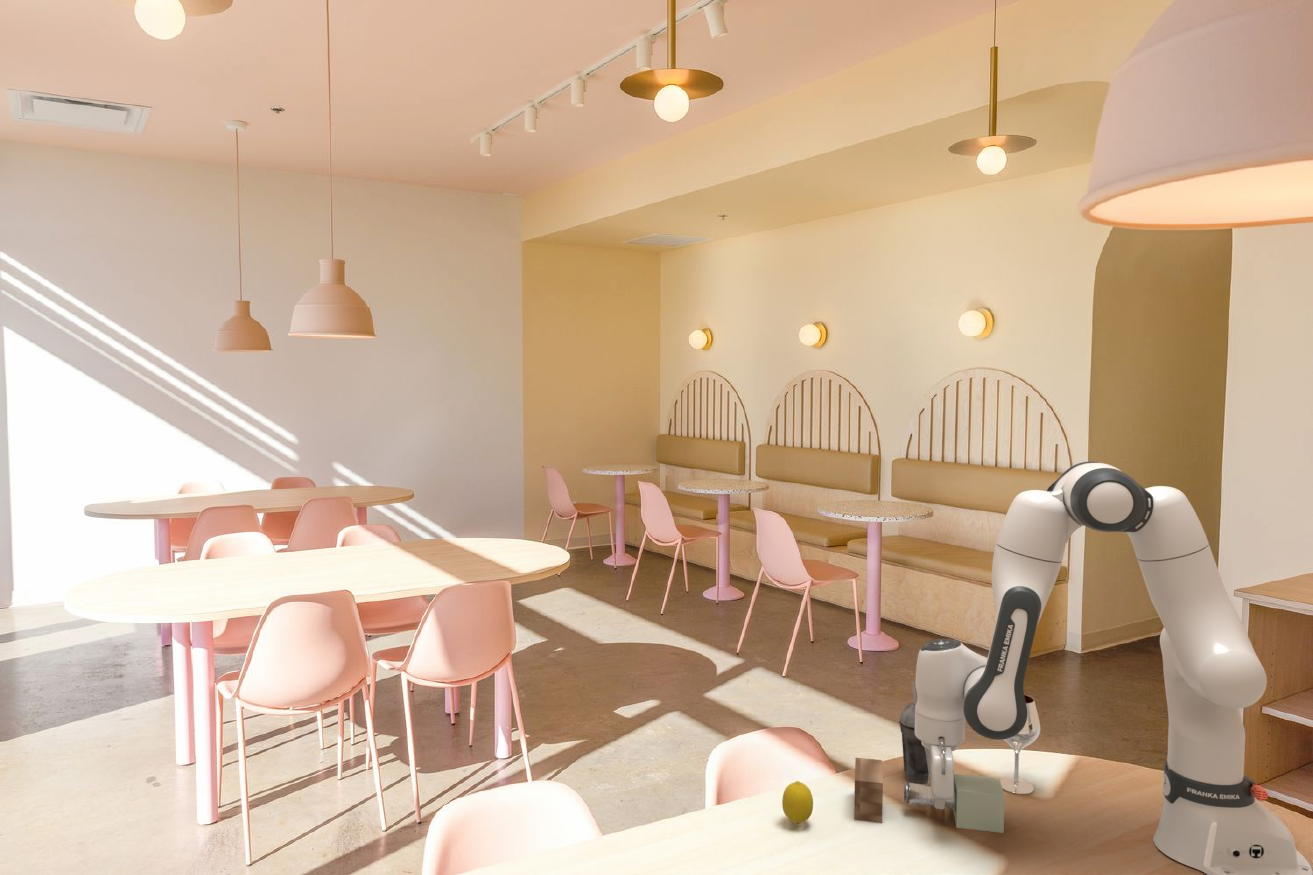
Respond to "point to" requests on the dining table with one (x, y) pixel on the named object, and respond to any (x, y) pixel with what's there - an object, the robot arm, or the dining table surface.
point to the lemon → (797, 802)
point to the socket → (868, 790)
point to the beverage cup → (912, 746)
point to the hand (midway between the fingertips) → (938, 800)
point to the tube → (924, 795)
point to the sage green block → (979, 803)
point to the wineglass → (1020, 742)
